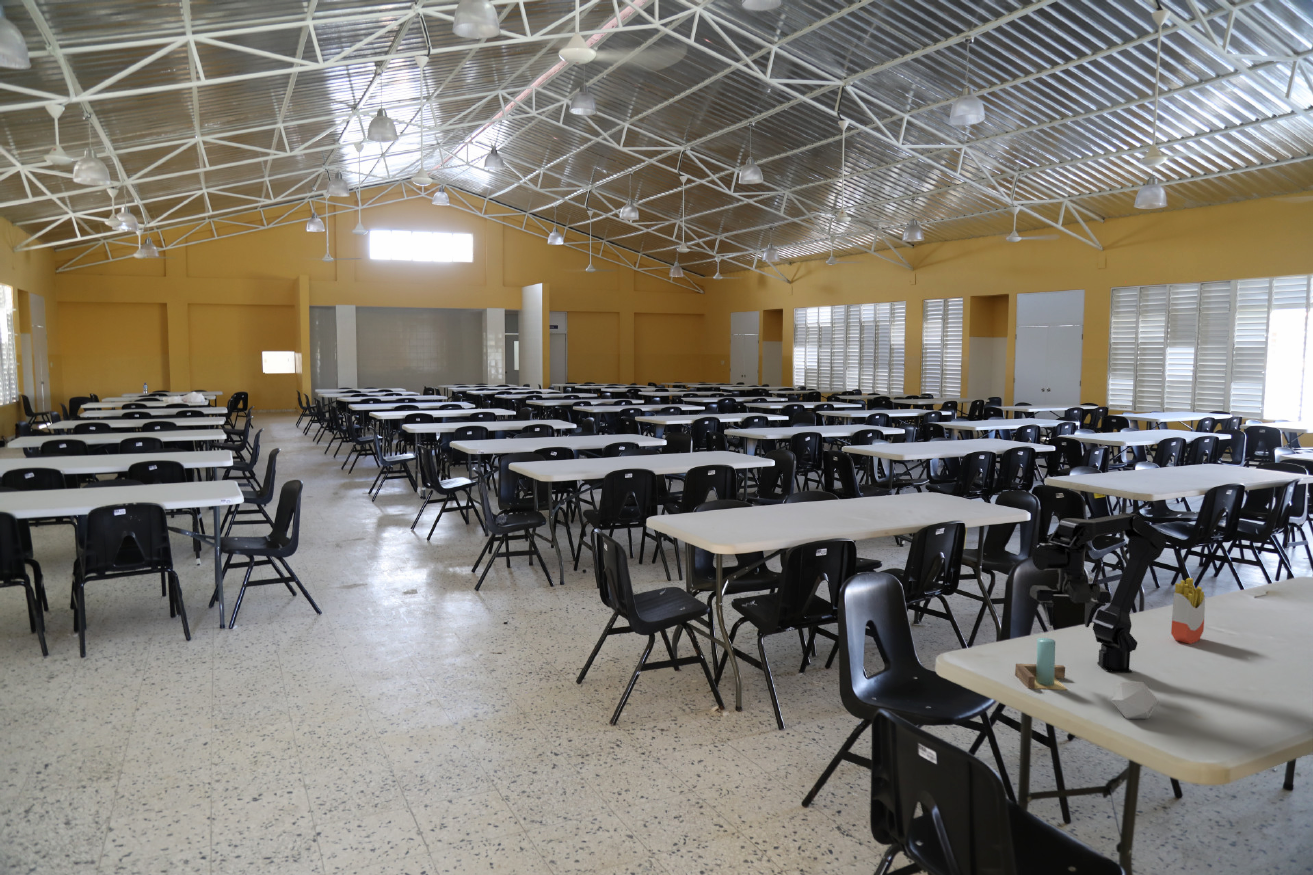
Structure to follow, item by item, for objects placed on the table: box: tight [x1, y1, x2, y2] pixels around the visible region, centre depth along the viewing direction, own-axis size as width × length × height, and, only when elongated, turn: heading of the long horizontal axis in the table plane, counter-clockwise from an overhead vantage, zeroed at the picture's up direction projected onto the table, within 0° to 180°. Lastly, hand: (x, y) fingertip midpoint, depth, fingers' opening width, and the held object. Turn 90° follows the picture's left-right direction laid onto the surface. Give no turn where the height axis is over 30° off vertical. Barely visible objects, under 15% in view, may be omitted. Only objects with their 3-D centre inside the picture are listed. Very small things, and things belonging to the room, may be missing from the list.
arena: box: [1014, 663, 1068, 691], centre depth 219 cm, size 12×10×3 cm
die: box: [1110, 681, 1159, 720], centre depth 198 cm, size 8×9×10 cm
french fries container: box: [1170, 577, 1206, 645], centre depth 253 cm, size 5×11×18 cm, turn 124°
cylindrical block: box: [1036, 637, 1056, 686], centre depth 218 cm, size 4×4×11 cm
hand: (1068, 626), depth 223 cm, fingers open, 9 cm apart
